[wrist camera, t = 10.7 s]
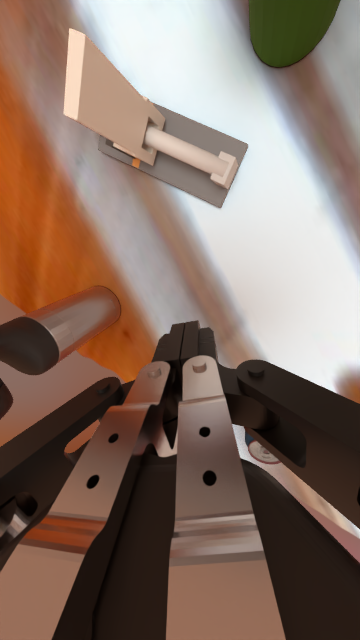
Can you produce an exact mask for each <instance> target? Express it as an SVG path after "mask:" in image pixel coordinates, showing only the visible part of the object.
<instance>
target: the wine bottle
mask: <svg viewBox="0 0 360 640" xmlns="http://www.w3.org/2000/svg"><path fill="white" fill-rule="evenodd" d="M339 3H340V0H249V23H250V35H251V41H252V44H253V47H254V50H255V52H256V53H257V55H258V56H259V57H260V59H261V60H262V61H263V62H265V63H266V64H268V65H270V66H275V67H283V66H288V65H291V64H293V63H295V62H297V61H299V60H301V59H302V58H303V57H304V56H305V55H307V54H308V53H309V52H310V51H311V50H312V49H313V48H314V47H315V46H316V45H317V44H318V42H319V41H320V40H321V39H322V37H323V36H324V35H325V33H326V31H327V29H328V28H329V26H330V24H331V23H332V21H333V18H334V16H335V13H336V11H337V8H338V6H339Z"/></svg>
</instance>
